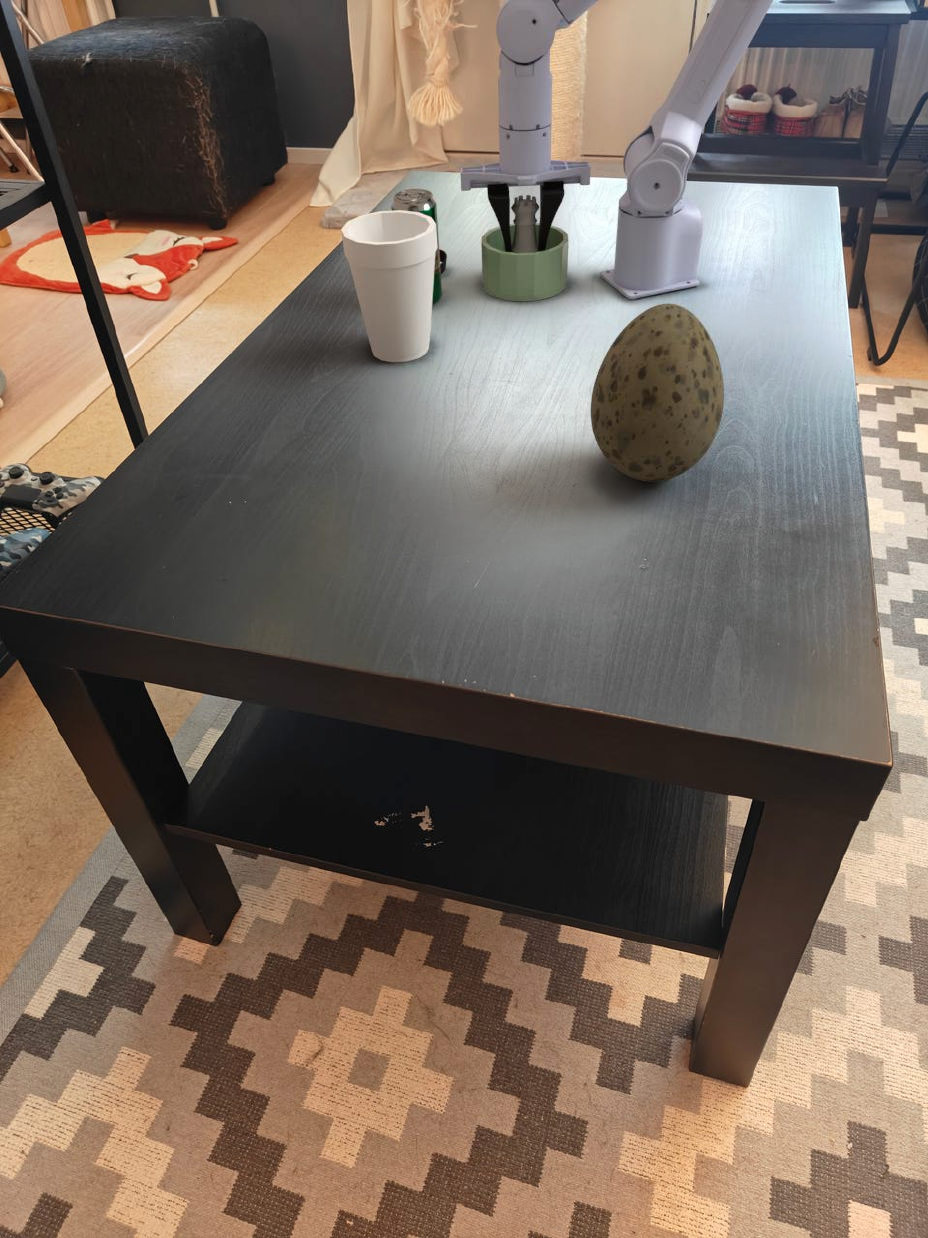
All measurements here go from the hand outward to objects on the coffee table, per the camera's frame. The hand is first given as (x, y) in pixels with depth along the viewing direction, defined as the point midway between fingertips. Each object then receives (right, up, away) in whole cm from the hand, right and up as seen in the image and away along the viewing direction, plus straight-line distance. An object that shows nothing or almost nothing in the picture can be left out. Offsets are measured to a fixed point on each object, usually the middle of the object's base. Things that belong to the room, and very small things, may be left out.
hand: (524, 249), depth 107 cm
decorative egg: (+9, -31, -28) cm, 43 cm away
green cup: (0, -3, +3) cm, 4 cm away
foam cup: (-14, -14, -8) cm, 22 cm away
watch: (-13, -1, +6) cm, 14 cm away
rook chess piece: (0, -2, +2) cm, 2 cm away
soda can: (-12, -6, +1) cm, 14 cm away
